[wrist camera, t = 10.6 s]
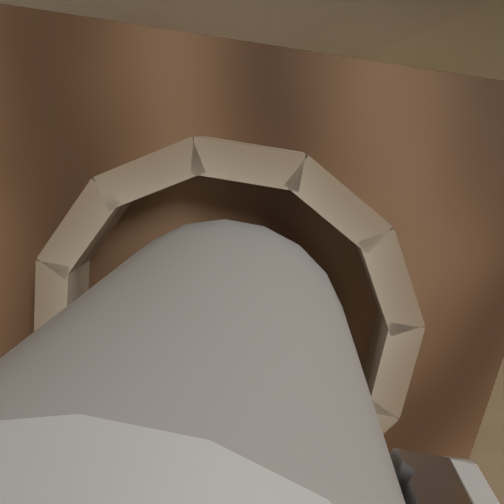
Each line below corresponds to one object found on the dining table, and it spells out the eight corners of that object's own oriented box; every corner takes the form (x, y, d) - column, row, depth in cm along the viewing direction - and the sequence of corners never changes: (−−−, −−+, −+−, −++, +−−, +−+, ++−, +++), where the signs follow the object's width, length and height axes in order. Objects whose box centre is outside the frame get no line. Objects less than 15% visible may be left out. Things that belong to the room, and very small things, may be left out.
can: (386, 355, 15) (764, 1193, 3) (205, 457, 16) (0, 1268, 5) (256, 165, 13) (54, 360, 2) (73, 295, 15) (-661, 846, 3)
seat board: (-11, 457, 18) (-60, 511, 16) (-12, 8, 14) (-81, -20, 11) (422, 540, 18) (445, 609, 15) (566, 97, 13) (633, 89, 11)
